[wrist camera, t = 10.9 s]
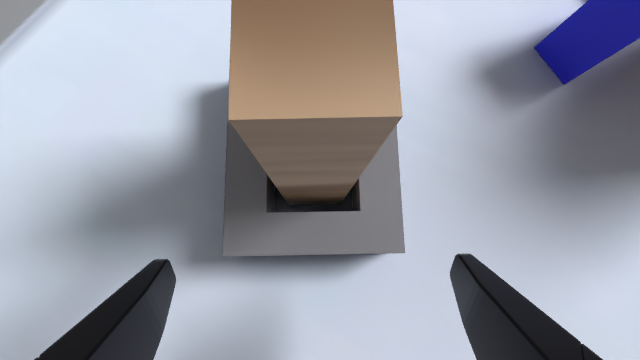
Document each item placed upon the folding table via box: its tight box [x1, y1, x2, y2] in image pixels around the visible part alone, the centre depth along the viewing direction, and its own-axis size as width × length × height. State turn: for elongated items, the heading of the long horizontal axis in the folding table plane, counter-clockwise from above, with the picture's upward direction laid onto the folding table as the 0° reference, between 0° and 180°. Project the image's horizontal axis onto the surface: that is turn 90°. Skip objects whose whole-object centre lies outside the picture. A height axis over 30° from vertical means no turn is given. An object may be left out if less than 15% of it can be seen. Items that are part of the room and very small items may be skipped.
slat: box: [228, 0, 402, 204], centre depth 12 cm, size 5×3×13 cm, turn 2°
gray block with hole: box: [222, 70, 405, 257], centre depth 17 cm, size 10×8×3 cm
